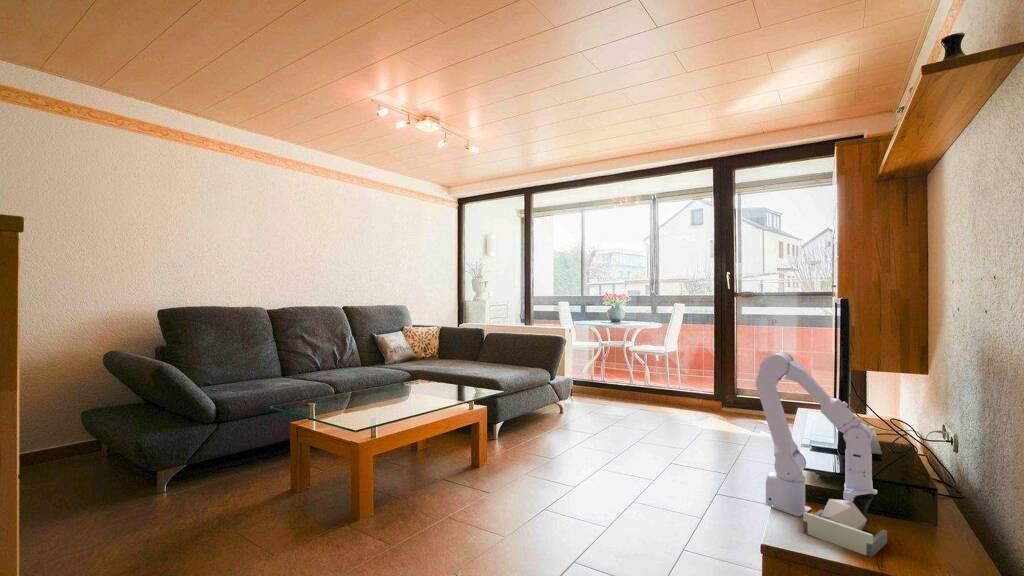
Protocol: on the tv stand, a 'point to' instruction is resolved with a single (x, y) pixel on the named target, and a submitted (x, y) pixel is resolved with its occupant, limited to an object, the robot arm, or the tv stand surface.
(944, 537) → the tv stand surface
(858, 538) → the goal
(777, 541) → the tv stand surface
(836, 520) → the die
